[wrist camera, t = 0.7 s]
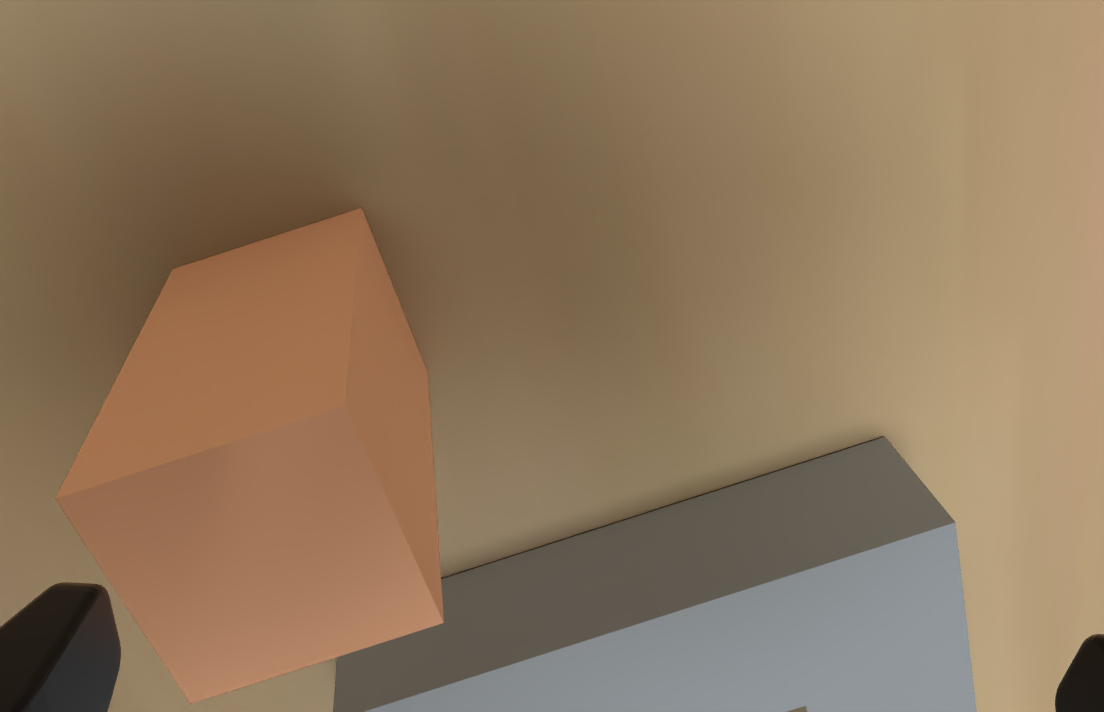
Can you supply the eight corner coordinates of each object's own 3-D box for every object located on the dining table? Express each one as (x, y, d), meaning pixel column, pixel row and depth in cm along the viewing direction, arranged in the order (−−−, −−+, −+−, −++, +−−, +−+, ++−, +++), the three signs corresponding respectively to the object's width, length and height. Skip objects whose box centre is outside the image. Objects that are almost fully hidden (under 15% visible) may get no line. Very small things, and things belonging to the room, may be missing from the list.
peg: (428, 372, 22) (443, 622, 15) (255, 428, 22) (190, 703, 15) (361, 207, 20) (344, 404, 13) (173, 268, 20) (55, 499, 13)
